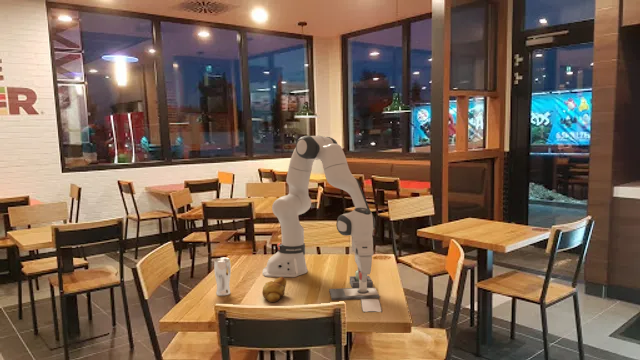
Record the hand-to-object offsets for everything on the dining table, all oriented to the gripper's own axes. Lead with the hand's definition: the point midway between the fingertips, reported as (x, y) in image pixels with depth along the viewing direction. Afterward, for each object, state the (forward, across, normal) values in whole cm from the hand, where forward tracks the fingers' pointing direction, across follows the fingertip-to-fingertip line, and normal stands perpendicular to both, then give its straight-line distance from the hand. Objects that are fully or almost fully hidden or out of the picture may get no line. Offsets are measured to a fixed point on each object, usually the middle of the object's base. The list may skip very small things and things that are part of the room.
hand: (362, 278), depth 194 cm
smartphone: (+8, +12, +2) cm, 14 cm away
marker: (+6, 0, 0) cm, 6 cm away
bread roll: (+8, +1, -38) cm, 39 cm away
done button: (+5, -11, +1) cm, 12 cm away
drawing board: (+7, 0, -4) cm, 8 cm away
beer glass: (+8, -7, -60) cm, 61 cm away
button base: (+7, -11, +1) cm, 13 cm away
